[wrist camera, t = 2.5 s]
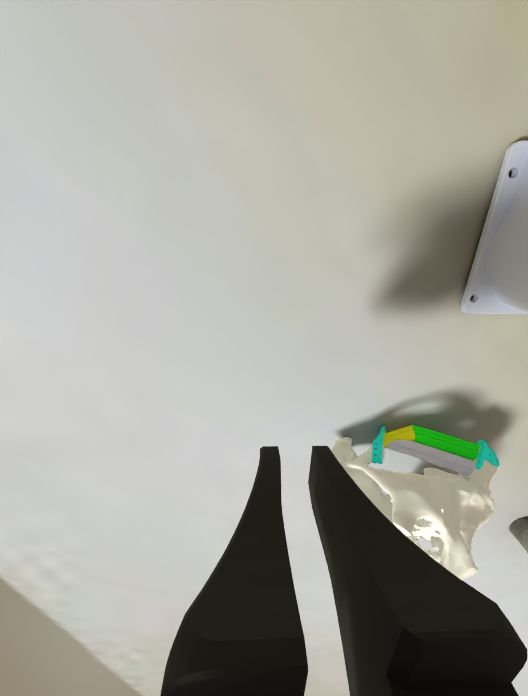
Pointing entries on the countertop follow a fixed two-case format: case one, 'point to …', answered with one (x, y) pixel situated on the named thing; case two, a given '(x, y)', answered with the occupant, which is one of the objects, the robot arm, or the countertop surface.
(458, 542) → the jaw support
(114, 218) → the countertop surface
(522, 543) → the housing bracket
